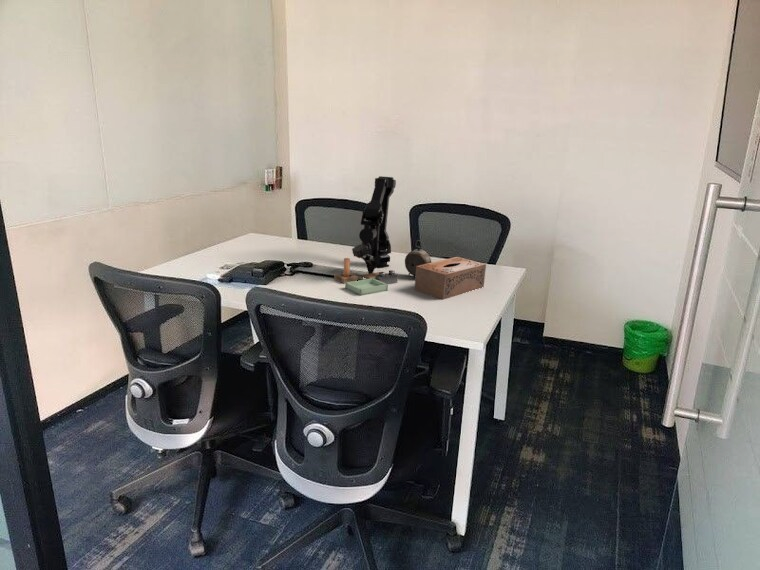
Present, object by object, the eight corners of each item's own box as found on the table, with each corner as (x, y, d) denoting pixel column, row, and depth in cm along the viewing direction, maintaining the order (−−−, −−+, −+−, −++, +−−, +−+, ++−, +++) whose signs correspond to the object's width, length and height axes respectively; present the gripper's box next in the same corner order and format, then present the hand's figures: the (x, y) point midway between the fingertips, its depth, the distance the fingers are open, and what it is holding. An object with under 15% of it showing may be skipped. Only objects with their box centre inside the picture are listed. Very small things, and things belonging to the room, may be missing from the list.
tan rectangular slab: (382, 277, 238) (382, 271, 237) (392, 281, 233) (392, 275, 232) (362, 280, 233) (362, 274, 232) (371, 284, 227) (372, 278, 226)
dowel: (347, 279, 231) (347, 257, 229) (350, 280, 230) (351, 259, 227) (342, 280, 230) (342, 258, 227) (345, 281, 228) (346, 259, 226)
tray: (372, 283, 227) (372, 278, 226) (387, 290, 219) (388, 284, 219) (345, 288, 219) (345, 282, 219) (360, 295, 212) (360, 289, 211)
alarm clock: (430, 279, 237) (433, 241, 233) (424, 281, 233) (427, 243, 228) (408, 274, 243) (411, 237, 238) (401, 276, 239) (404, 239, 234)
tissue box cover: (443, 300, 212) (445, 274, 209) (414, 290, 222) (416, 266, 219) (483, 288, 230) (486, 264, 227) (455, 279, 239) (457, 256, 236)
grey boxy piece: (392, 280, 232) (393, 269, 231) (397, 282, 230) (397, 271, 229) (375, 283, 227) (375, 272, 226) (379, 285, 225) (380, 274, 223)
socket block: (348, 277, 235) (348, 272, 234) (358, 281, 229) (358, 276, 229) (334, 279, 230) (334, 274, 230) (343, 283, 225) (344, 278, 225)
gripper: (342, 235, 234) (341, 271, 239) (369, 244, 220) (368, 282, 225) (364, 232, 241) (363, 267, 246) (392, 241, 227) (389, 278, 232)
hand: (370, 274), depth 237 cm, fingers closed
